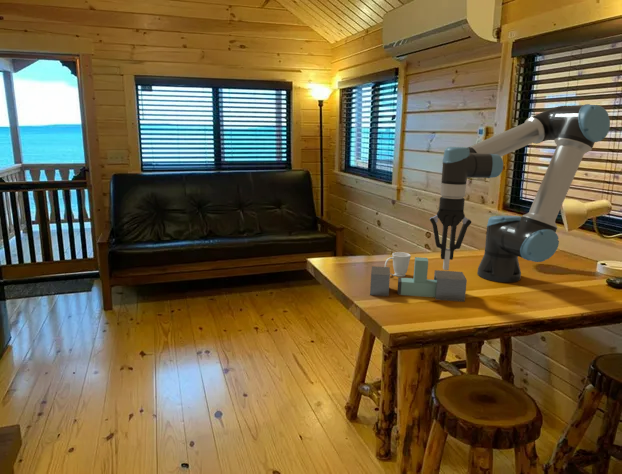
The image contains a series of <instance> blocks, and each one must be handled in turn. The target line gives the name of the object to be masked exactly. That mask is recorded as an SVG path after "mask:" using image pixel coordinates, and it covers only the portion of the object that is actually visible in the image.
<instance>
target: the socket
mask: <svg viewBox="0 0 622 474" xmlns="http://www.w3.org/2000/svg"><path fill="white" fill-rule="evenodd" d="M390 270H391V269H390V267H389V266H388V267H387V266H386V267H384V266H376V265H375V266H374V265H373V266H371V271H370V272H371V273H370V293H369V296H376V297H377V296H381V297H389V295H390V280H391V279H390V277H391V276H390V275H391V274H390V273H391V271H390Z"/></svg>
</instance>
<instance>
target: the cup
mask: <svg viewBox="0 0 622 474" xmlns="http://www.w3.org/2000/svg"><path fill="white" fill-rule="evenodd" d="M411 256H412V255H411V254H410V253H408V252H406V251H405V252H403V251H396V252H392V256H391V257H388V258H386V260H385V262H384V266H383V267H387V264H388V262H389V261H390V260H392V267H393V271H394V274H393V273H391V272H390V275H391V276H394V277H398V278H405V277H406V275H407V272H408V270H409V265H410V260H411Z"/></svg>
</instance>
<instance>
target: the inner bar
mask: <svg viewBox="0 0 622 474" xmlns="http://www.w3.org/2000/svg"><path fill="white" fill-rule="evenodd" d="M413 267H414V268H413V276H412V277H413V278H412V277H398V278H397V288H396V289H397V295H400V296H410V297H411V296H412V297H425V298H426V297H427V298H435V296H436V284H437V280H434V279H428V270H429V259H428V257H421V256H419V257H418V256H417V257H416V256H415V257H414V266H413Z"/></svg>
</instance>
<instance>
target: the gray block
mask: <svg viewBox="0 0 622 474" xmlns="http://www.w3.org/2000/svg"><path fill="white" fill-rule="evenodd" d="M433 275H434V276H433V280H437V284H436V296H435V297H434V298H435V300H437V301H451V302H463V303H464V302H465V300H466V294H467V293H466V292H467V291H466V290H467V284H468V283H467V281H468V280H467V278H466V276H465V274H464V272H463V271H453V270H452V271H451V270H437V269H436V270H434V274H433Z"/></svg>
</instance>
